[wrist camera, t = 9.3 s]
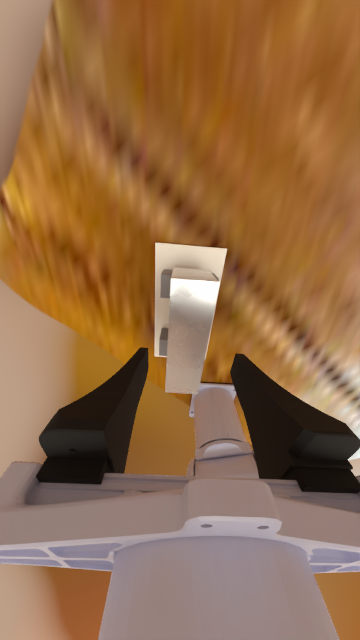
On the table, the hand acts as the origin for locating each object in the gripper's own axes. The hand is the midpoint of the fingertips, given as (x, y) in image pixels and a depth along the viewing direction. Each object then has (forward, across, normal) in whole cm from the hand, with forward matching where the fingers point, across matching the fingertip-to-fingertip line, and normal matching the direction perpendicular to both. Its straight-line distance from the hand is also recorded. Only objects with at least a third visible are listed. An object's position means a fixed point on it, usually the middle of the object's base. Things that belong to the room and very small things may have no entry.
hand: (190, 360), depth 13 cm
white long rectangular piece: (+6, 0, 0) cm, 6 cm away
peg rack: (+10, 0, 0) cm, 10 cm away
